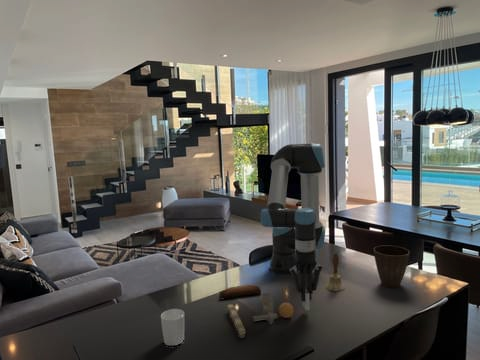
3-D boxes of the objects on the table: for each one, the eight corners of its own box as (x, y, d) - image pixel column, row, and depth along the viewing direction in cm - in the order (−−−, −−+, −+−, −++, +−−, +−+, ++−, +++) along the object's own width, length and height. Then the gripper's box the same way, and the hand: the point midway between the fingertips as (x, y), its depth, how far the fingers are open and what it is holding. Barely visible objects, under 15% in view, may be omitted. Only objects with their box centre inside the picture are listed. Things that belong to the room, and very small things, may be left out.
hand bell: (343, 283, 167) (342, 250, 165) (346, 291, 159) (346, 256, 157) (324, 283, 168) (324, 250, 166) (327, 291, 159) (326, 256, 158)
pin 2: (267, 322, 135) (266, 299, 134) (272, 321, 135) (272, 298, 134) (269, 324, 133) (268, 301, 132) (274, 323, 133) (273, 300, 132)
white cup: (164, 336, 128) (162, 309, 127) (186, 334, 128) (185, 308, 127) (161, 349, 120) (159, 321, 119) (185, 347, 121) (183, 319, 119)
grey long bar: (228, 312, 144) (227, 305, 143) (233, 311, 144) (232, 304, 144) (240, 338, 124) (239, 330, 124) (245, 338, 125) (245, 329, 124)
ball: (285, 297, 140) (292, 307, 142) (274, 305, 139) (280, 316, 141) (291, 303, 135) (298, 314, 136) (280, 312, 134) (286, 323, 135)
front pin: (275, 315, 139) (253, 318, 137) (276, 312, 138) (253, 315, 136) (277, 320, 137) (254, 323, 135) (277, 316, 136) (254, 319, 134)
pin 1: (262, 314, 141) (262, 292, 140) (267, 313, 141) (267, 291, 140) (264, 317, 139) (263, 294, 138) (269, 316, 139) (268, 293, 138)
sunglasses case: (255, 287, 167) (257, 277, 163) (259, 300, 161) (261, 290, 157) (217, 292, 163) (218, 283, 159) (220, 306, 157) (221, 296, 153)
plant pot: (392, 276, 173) (393, 243, 172) (416, 288, 159) (417, 252, 157) (366, 281, 169) (366, 247, 167) (389, 293, 155) (389, 257, 153)
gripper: (293, 254, 133) (294, 315, 135) (325, 250, 136) (326, 310, 138) (285, 248, 140) (287, 306, 143) (316, 244, 143) (317, 301, 146)
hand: (306, 308), depth 140 cm, fingers closed
